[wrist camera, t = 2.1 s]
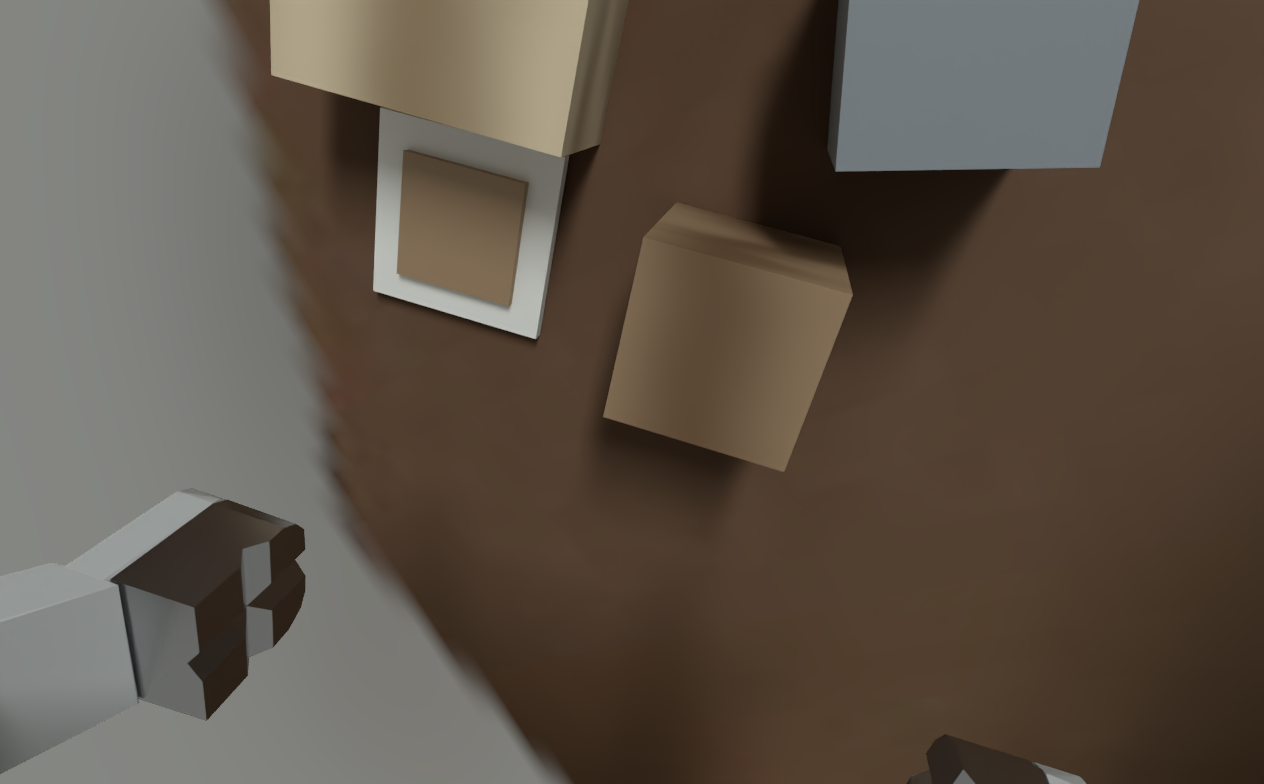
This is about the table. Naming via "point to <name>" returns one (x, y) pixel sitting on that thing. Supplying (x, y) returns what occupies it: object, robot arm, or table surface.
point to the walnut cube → (727, 333)
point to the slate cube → (975, 83)
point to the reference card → (465, 222)
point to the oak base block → (462, 62)
